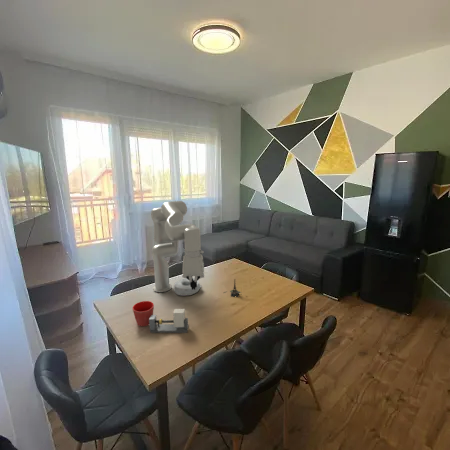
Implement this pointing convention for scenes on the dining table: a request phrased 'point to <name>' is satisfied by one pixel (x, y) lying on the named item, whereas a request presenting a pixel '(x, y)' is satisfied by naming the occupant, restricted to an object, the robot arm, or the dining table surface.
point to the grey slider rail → (166, 326)
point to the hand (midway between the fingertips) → (193, 288)
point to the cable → (185, 287)
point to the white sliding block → (179, 317)
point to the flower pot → (143, 312)
